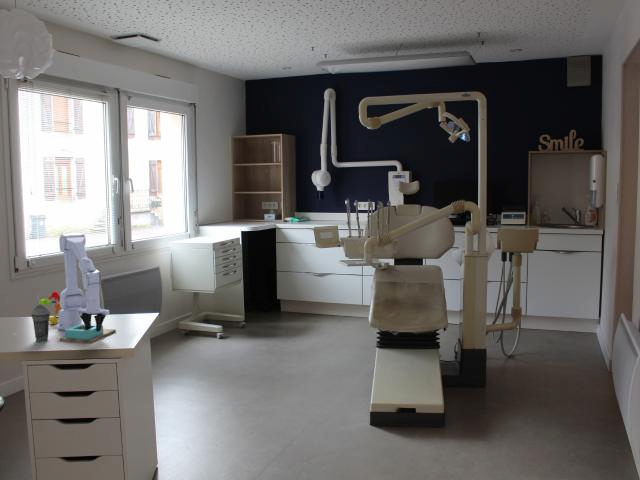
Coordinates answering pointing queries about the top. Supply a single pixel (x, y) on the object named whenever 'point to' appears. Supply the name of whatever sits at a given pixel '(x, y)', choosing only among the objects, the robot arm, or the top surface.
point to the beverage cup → (41, 322)
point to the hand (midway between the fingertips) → (93, 330)
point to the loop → (82, 332)
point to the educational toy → (57, 306)
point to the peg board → (105, 333)
